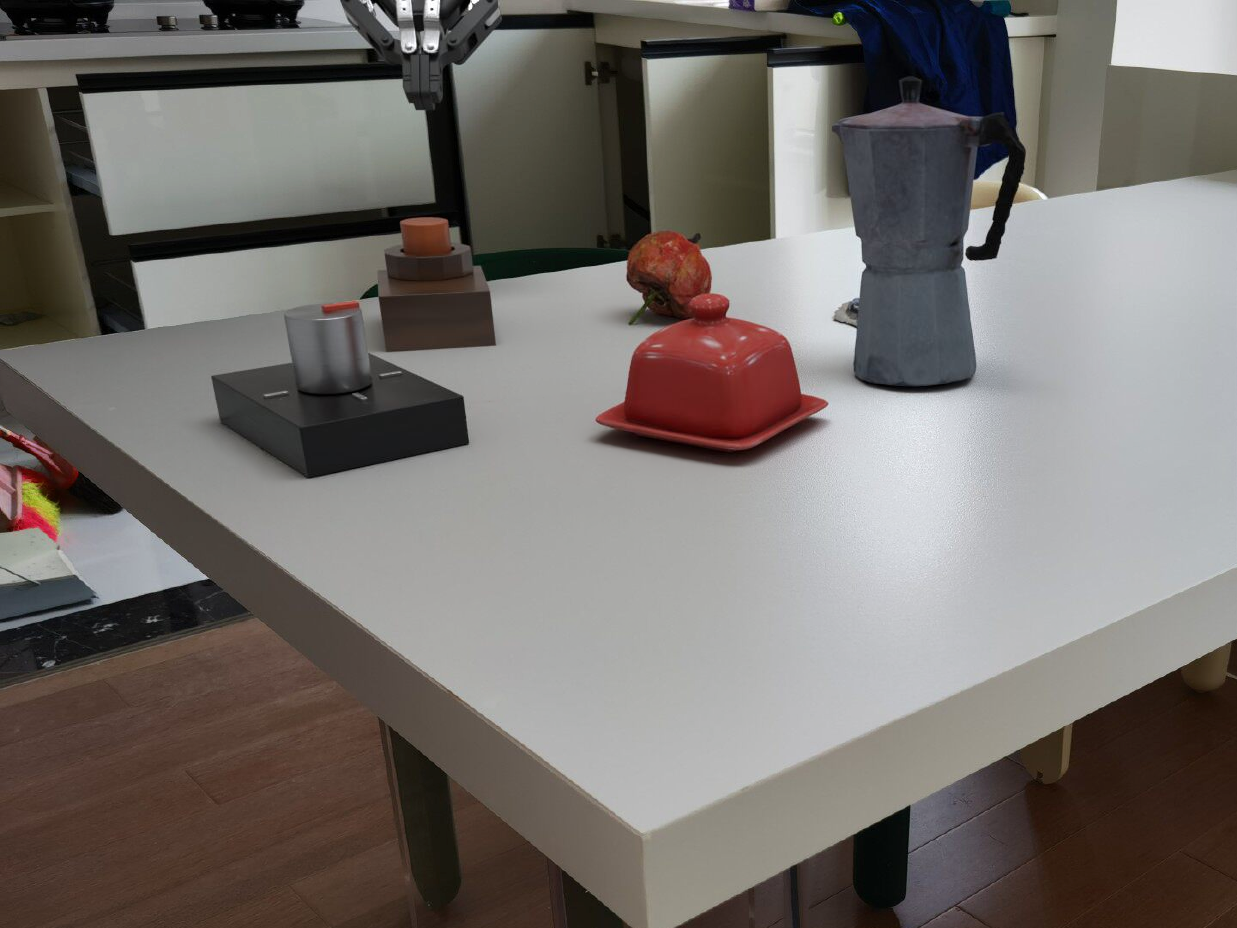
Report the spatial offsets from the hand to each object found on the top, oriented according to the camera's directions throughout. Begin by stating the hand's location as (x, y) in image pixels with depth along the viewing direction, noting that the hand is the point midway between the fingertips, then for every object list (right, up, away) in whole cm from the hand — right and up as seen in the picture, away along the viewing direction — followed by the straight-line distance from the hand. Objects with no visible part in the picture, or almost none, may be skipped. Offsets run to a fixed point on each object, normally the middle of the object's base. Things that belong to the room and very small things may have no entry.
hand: (423, 104), depth 111 cm
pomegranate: (+19, -16, +5) cm, 25 cm away
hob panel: (+3, -30, -24) cm, 39 cm away
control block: (+2, -19, -1) cm, 19 cm away
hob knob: (+3, -27, -26) cm, 38 cm away
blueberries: (+36, -16, +6) cm, 40 cm away
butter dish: (+26, -30, -22) cm, 45 cm away
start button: (+1, -12, -1) cm, 13 cm away
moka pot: (+39, -24, -10) cm, 47 cm away
